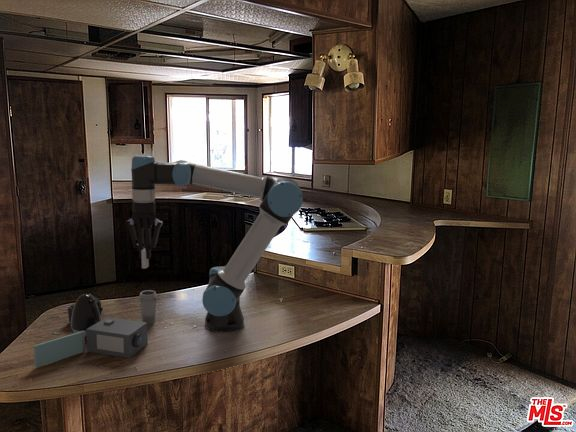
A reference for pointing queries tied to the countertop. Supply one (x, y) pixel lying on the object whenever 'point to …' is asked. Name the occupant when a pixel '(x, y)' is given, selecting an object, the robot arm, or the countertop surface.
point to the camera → (74, 304)
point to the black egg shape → (84, 314)
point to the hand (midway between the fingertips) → (145, 267)
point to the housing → (117, 337)
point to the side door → (59, 348)
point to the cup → (148, 306)
